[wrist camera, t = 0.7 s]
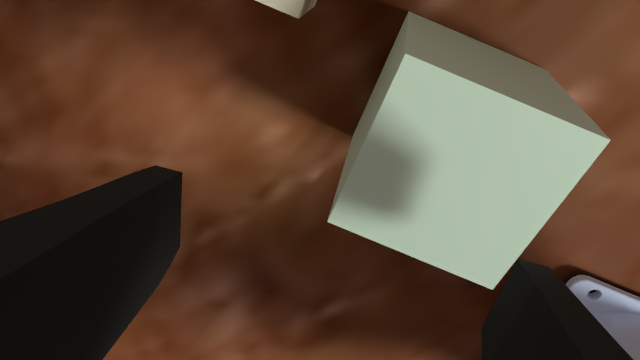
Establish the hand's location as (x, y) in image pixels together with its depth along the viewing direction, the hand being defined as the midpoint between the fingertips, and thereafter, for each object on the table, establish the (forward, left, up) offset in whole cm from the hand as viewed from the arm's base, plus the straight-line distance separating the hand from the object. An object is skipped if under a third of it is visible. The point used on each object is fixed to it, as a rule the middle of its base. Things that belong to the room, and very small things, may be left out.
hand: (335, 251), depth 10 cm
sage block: (-2, -1, -9) cm, 9 cm away
